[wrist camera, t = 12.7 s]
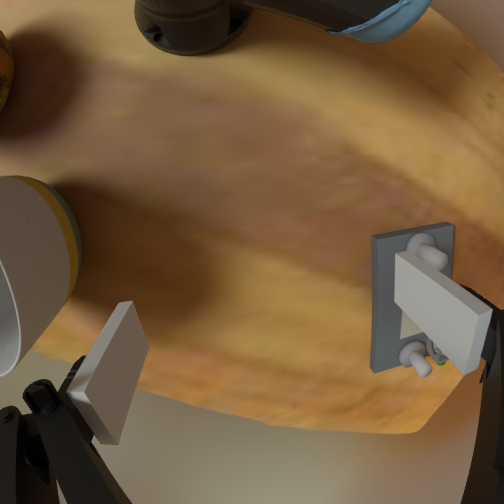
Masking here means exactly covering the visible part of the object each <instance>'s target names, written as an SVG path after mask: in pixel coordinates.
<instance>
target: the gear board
mask: <svg viewBox="0 0 504 504" xmlns="http://www.w3.org/2000/svg"><path fill="white" fill-rule="evenodd" d="M453 230H454V225H452V224H450V223H448V222H443V223H438V224H432V225H427V226H421V227H416V228H411V229H405V230H400V231H394V232H389V233H383V234H378V235H372V236H371V241H372V336H371V356H370V368H371V370H372V371H373V373H377V372H381V371H384V370H387V369H390V368H394V367H397V366H400V365H403V366H404V367H411V366H413V367H414V369H415V370H416V371H417V373H418V374H419V375H420V376H421V377H422V378H424V377H427V376H428V375H429V374H430V373H431V372H432V366H431V365H430V364H429V363H428V361H427V360H426V359H425V358H424V357H426V356H429V355H430V354H429V353H428V351H427V346H426V344H427V338H428V336H427V335H426V334H425V333H424V332H423V331H422V330H421V329H420V328H419V327H418V325H417V324H416V323H415V322H414V321H413V320H412V319H411V318H410V317H409V316H408V315H407V314H406V313H405V312H404V311H403V310H402V309H401V308H400V307H399V306H398V305H397V304H396V303H395V302H394V293H395V253H399V252H404V251H409V252H410V253H412V254H414V255H415V256H417V257H418V258H420V259H421V260H423V261H424V262H426V263H427V264H429V265H430V266H432V267H433V268H435V269H436V270H438V271H439V272H441V273H442V274H444V275H445V276H447V277H448V278H451V267H452V252H453Z"/></svg>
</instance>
